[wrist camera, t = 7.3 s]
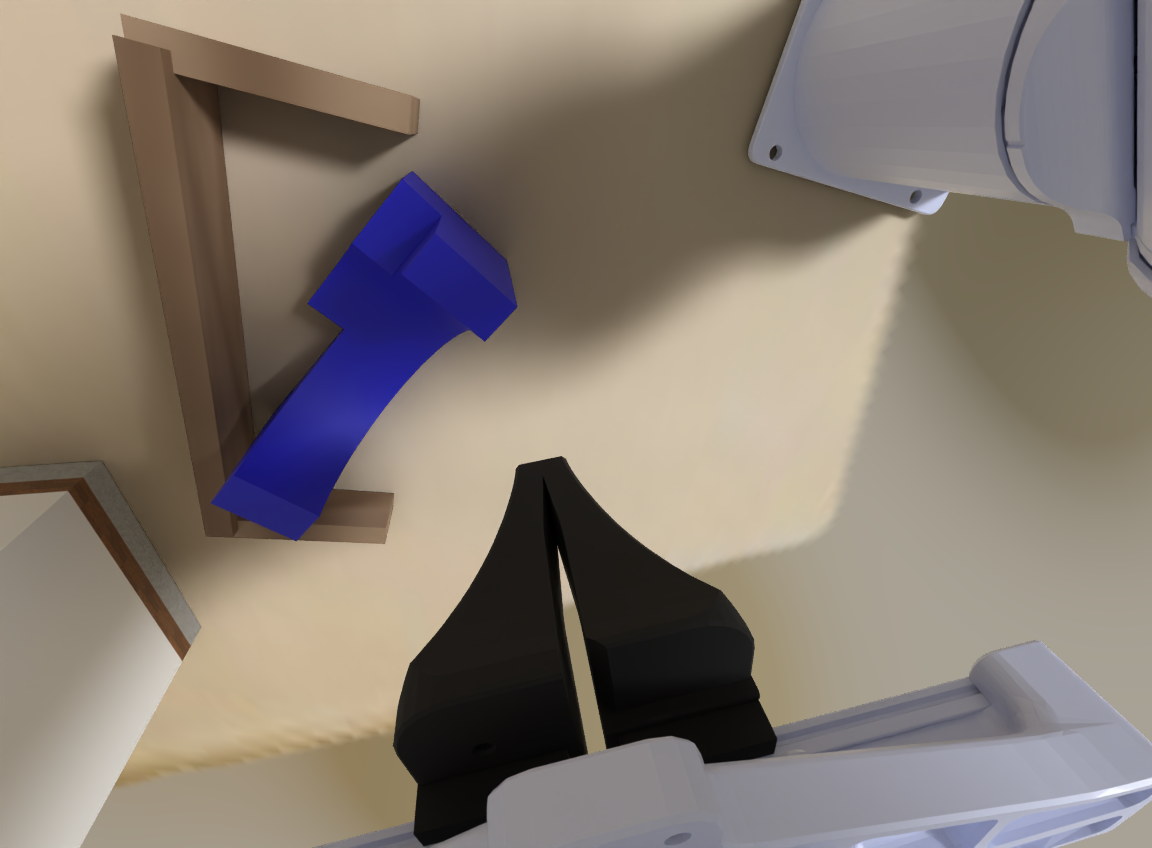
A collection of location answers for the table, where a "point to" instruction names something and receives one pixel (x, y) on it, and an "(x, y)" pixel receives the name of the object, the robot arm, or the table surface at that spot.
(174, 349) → the frame
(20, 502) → the display case
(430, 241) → the cable clip
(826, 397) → the table surface
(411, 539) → the table surface
